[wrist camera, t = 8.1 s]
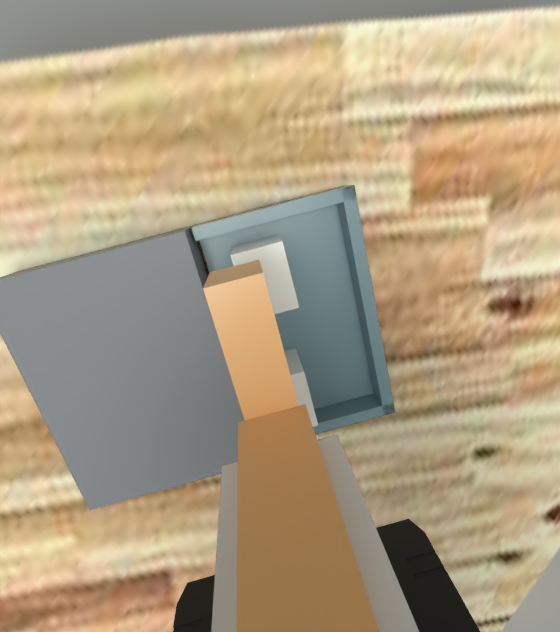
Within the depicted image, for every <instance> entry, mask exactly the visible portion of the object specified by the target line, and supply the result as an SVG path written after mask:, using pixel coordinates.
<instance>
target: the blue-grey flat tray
mask: <svg viewBox="0 0 560 632" xmlns="http://www.w3.org/2000/svg"><path fill="white" fill-rule="evenodd" d="M191 229H192V232H193V235H194V238H195V241H198V240H199V241H200V244H201V247H202V250H203V254H204V257H205V260H206V263H207V267H208V270H209V273H210V272H213V271H217V270H221V269H225V268H229V267H232V266H233V262H232V259H231V256H230V255H231V248H232V246H235V245H239V244H242V243H246V242H250V241H253V240H257V239H261V238H264V237H268V236H272V235H275V234H276V235H277V236H278V237H279V238H280V239H281V240H282V242H283V245H284V249H285V253H286V257H287V261H288V265H289V269H290V273H291V277H292V281H293V285H294V289H295V293H296V297H297V301H298V305H299V308H296V309H292V310H289V311H285V312H281V313H278V314H274V315H275V318H276V322H277V326H278V330H279V334H280V337H281V341H282V345H283V349H284V351H286V350H289V349H293V348H296V350H297V353H298V356H299V359H300V362H301V364H302V367H303V370H304V373H305V377H306V381H307V384H308V388H309V392H310V396H311V400H312V403H313V407H314V411H315V415H316V418H317V422H318V426H314V427H313V429H314V432H315V434H318V433H322V432H325V431H329V430H333V429H336V428H340V427H344V426H347V425H351V424H354V423H358V422H362V421H365V420H369V419H373V418H376V417H380V416H384V415H387V414H391V413H395V409H394V404H393V398H392V393H391V387H390V382H389V376H388V371H387V365H386V359H385V354H384V348H383V343H382V337H381V332H380V326H379V321H378V315H377V309H376V304H375V298H374V293H373V287H372V282H371V276H370V270H369V265H368V259H367V254H366V248H365V243H364V237H363V232H362V226H361V220H360V215H359V209H358V204H357V198H356V193H355V187H354V185H349V186H342V187H338V188H334V189H330V190H326V191H323V192H319V193H315V194H311V195H307V196H304V197H300V198H296V199H292V200H288V201H285V202H281V203H277V204H273V205H269V206H266V207H262V208H258V209H254V210H250V211H247V212H243V213H239V214H235V215H231V216H228V217H224V218H220V219H216V220H212V221H208V222H205V223H201V224H197V225H195V226H193V227H192V228H191Z"/></svg>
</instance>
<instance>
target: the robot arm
mask: <svg viewBox="0 0 560 632" xmlns="http://www.w3.org/2000/svg"><path fill="white" fill-rule="evenodd" d="M317 441H318V445H319V448H320V451H321V454H322V457H323V460H324V463H325V466H326V469H327V472H328V475H329V478H330V481H331V485H332V488H333V491H334V494H335V497H336V500H337V503H338V506H339V509H340V512H341V515H342V518H343V522H344V525H345V528H346V531H347V534H348V537H349V540H350V543H351V546H352V549H353V552H354V555H355V559H356V562H357V565H358V568H359V571H360V574H361V577H362V580H363V583H364V586H365V589H366V592H367V595H368V599H369V602H370V605H371V608H372V611H373V614H374V617H375V620H376V623H377V626H378V629H379V632H480V631H479V629H478V627H477V625H476V624H475V622H474V620H473V618H472V616H471V615H470V613H469V611H468V609H467V607H466V606H465V604H464V602H463V600H462V598H461V597H460V595H459V593H458V591H457V589H456V588H455V586H454V584H453V582H452V581H451V579H450V577H449V575H448V573H447V572H446V570H445V569H444V566H443V564H442V563H441V561H440V559H439V557H438V555H437V554H436V553H435V550H434V548H433V546H432V545H431V543H430V541H429V539H428V538H427V536H426V534H425V532H424V531H422V530H421V529H420V528H419V527H418V526H416V525H415V524H414V523H413V522H412V521H410V520H409V519H406V520H403V521H399V522H396V523H392V524H389V525H385V526H382V527H378V528H376V527H375V525H374V522H373V520H372V517H371V515H370V513H369V510H368V508H367V505H366V503H365V500H364V498H363V496H362V493H361V491H360V488H359V486H358V484H357V481H356V479H355V476H354V474H353V472H352V469H351V467H350V464H349V462H348V460H347V457H346V455H345V452H344V450H343V448H342V445H341V443H340V440H339V438H338V436H337V435H333V436H330V437H326V438H322V439H319V440H317ZM237 495H238V462H236V463H232V464H229V465H225V466H222V475H221V490H220V505H219V521H218V536H217V551H216V566H215V575H214V576H210V577H207V578H203V579H200V580H196V581H193V582H189V583H187V585H186V587H185V589H184V591H183V593H182V595H181V597H180V599H179V601H178V603H177V607H176V613H175V620H174V626H173V627H174V631H173V632H237Z"/></svg>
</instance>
